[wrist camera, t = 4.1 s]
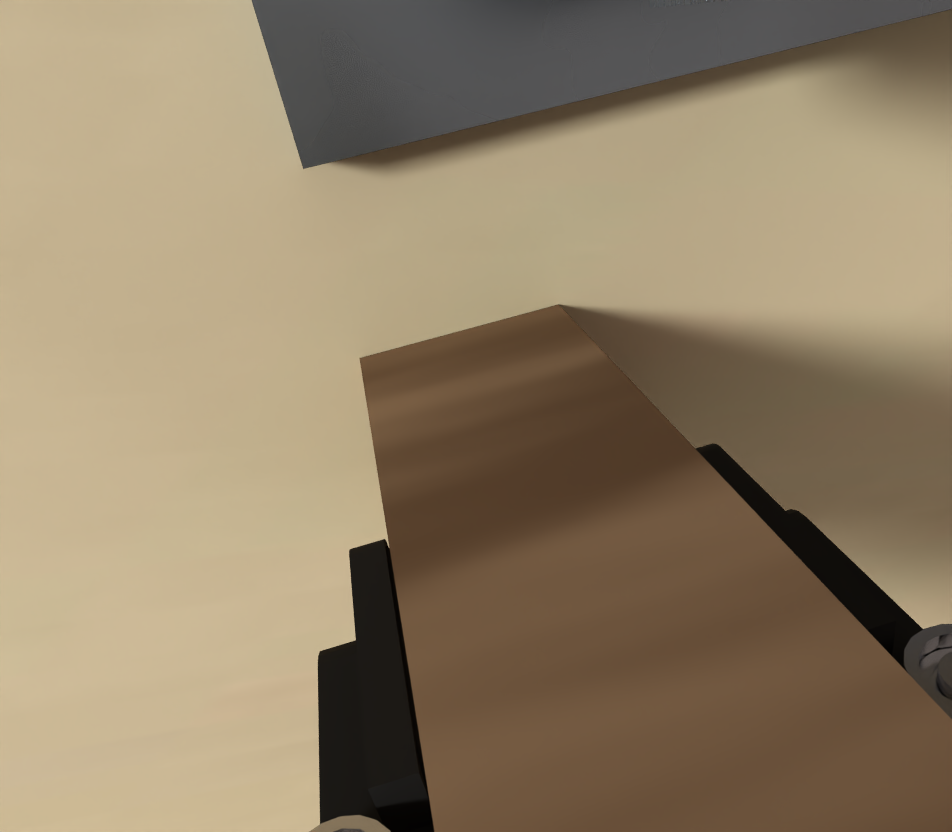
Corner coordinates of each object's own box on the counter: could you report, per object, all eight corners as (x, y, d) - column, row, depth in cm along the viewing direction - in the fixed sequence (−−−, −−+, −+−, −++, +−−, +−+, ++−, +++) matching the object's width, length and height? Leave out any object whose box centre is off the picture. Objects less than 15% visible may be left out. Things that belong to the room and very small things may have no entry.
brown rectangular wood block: (359, 358, 15) (606, 1923, 2) (558, 304, 15) (1646, 1450, 3) (410, 522, 17) (684, 1830, 4) (584, 471, 17) (1278, 1558, 5)
